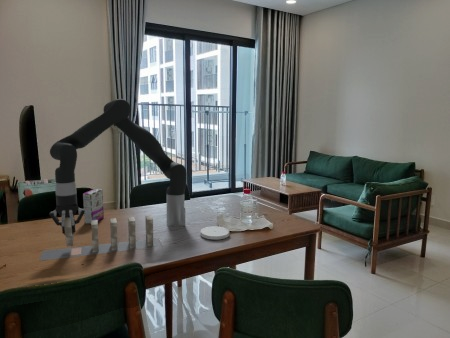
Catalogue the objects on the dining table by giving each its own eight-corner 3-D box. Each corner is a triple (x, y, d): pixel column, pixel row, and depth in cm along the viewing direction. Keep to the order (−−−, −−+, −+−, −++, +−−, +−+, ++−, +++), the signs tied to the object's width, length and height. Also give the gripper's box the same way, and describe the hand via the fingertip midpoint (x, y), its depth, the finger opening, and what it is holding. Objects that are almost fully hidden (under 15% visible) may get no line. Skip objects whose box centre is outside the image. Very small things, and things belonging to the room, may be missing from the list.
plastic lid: (206, 243, 156) (207, 238, 155) (196, 233, 168) (196, 228, 168) (233, 239, 162) (234, 234, 161) (221, 229, 174) (221, 224, 174)
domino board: (158, 240, 157) (158, 237, 157) (162, 248, 148) (162, 245, 148) (42, 253, 140) (42, 250, 140) (39, 263, 131) (39, 260, 130)
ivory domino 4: (151, 240, 154) (150, 215, 152) (153, 245, 148) (153, 219, 146) (145, 241, 153) (145, 215, 151) (147, 246, 147) (147, 219, 145)
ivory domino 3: (134, 242, 151) (133, 216, 149) (135, 247, 145) (135, 220, 143) (128, 243, 150) (128, 217, 148) (130, 248, 145) (129, 221, 143)
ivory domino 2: (116, 244, 148) (115, 218, 146) (117, 249, 143) (116, 222, 141) (111, 245, 147) (110, 218, 145) (111, 250, 142) (110, 223, 140)
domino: (73, 236, 144) (71, 214, 137) (73, 246, 139) (70, 224, 133) (67, 236, 143) (64, 214, 136) (66, 246, 138) (64, 224, 132)
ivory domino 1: (98, 246, 146) (97, 219, 144) (98, 251, 140) (97, 224, 138) (92, 247, 145) (91, 220, 143) (92, 252, 139) (91, 224, 137)
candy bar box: (95, 217, 188) (94, 188, 185) (104, 218, 187) (103, 189, 184) (83, 223, 177) (82, 193, 174) (92, 224, 176) (91, 193, 173)
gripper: (85, 189, 141) (87, 229, 144) (48, 191, 136) (51, 232, 139) (84, 193, 134) (87, 235, 137) (45, 196, 129) (49, 239, 132)
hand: (69, 233), depth 138 cm, fingers closed on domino, 2 cm apart
